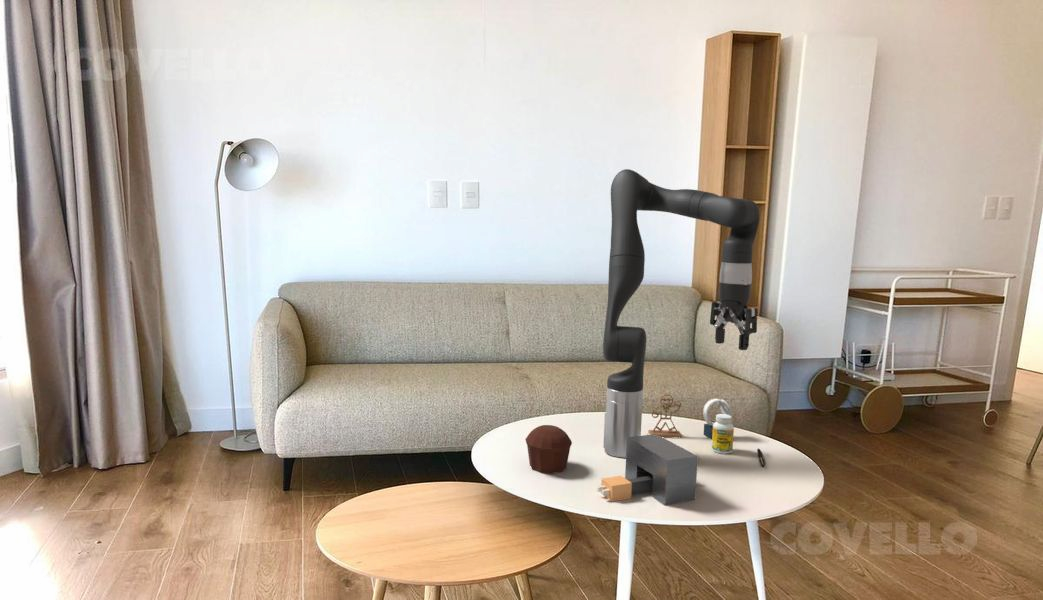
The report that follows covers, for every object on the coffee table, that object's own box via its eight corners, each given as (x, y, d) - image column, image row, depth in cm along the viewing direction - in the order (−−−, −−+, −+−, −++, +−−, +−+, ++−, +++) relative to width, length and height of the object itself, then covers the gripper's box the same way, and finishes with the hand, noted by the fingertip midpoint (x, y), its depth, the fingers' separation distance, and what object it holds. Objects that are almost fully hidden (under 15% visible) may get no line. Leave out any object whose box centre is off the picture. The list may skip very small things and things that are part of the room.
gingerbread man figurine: (650, 437, 193) (652, 395, 192) (647, 433, 197) (649, 392, 195) (682, 438, 193) (684, 396, 192) (678, 433, 197) (681, 392, 195)
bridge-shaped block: (625, 478, 162) (626, 437, 161) (653, 474, 165) (655, 433, 164) (664, 505, 148) (667, 460, 146) (695, 500, 151) (697, 456, 149)
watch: (733, 439, 193) (736, 401, 192) (707, 441, 191) (710, 402, 190) (722, 433, 198) (725, 396, 197) (697, 434, 196) (700, 397, 195)
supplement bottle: (729, 448, 186) (732, 413, 184) (734, 454, 180) (736, 419, 179) (709, 447, 186) (711, 412, 185) (713, 453, 181) (715, 418, 179)
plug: (594, 494, 152) (595, 479, 152) (685, 479, 162) (686, 465, 162) (605, 502, 148) (605, 487, 148) (697, 486, 158) (698, 472, 158)
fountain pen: (755, 450, 185) (756, 445, 185) (760, 450, 185) (760, 445, 185) (761, 469, 171) (761, 463, 171) (766, 469, 171) (766, 463, 171)
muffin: (580, 471, 166) (581, 431, 165) (540, 479, 161) (541, 437, 159) (554, 455, 176) (555, 418, 175) (516, 462, 171) (517, 423, 170)
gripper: (704, 278, 173) (700, 342, 175) (743, 284, 160) (738, 353, 162) (728, 278, 176) (724, 340, 178) (768, 283, 163) (763, 351, 165)
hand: (731, 346), depth 170 cm, fingers open, 8 cm apart
